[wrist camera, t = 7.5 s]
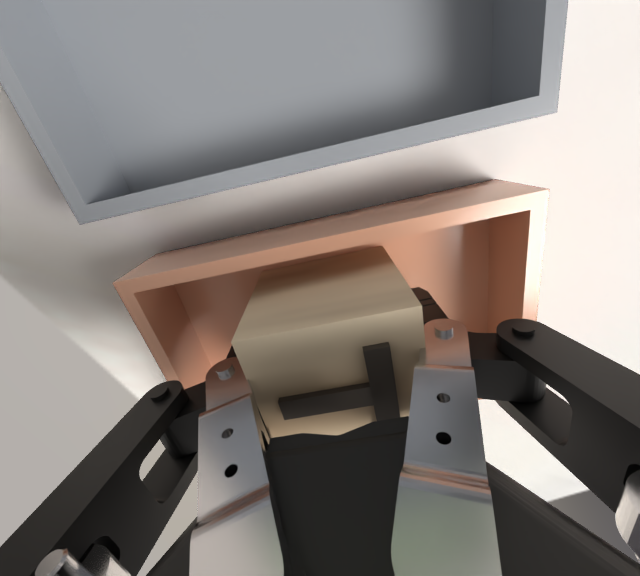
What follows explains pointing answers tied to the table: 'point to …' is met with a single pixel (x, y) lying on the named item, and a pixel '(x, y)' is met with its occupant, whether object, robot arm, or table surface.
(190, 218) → the table surface
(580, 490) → the table surface
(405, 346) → the letter cube
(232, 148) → the slate tray
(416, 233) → the terracotta tray
